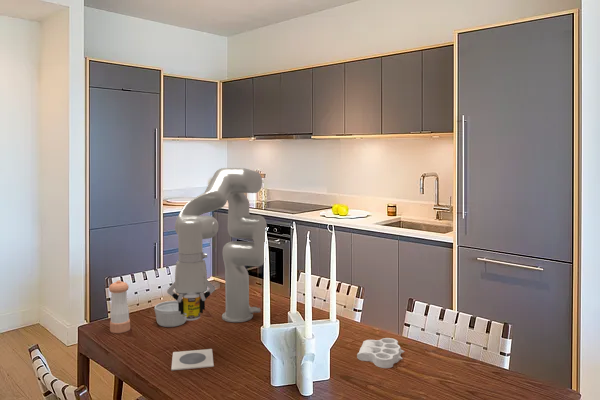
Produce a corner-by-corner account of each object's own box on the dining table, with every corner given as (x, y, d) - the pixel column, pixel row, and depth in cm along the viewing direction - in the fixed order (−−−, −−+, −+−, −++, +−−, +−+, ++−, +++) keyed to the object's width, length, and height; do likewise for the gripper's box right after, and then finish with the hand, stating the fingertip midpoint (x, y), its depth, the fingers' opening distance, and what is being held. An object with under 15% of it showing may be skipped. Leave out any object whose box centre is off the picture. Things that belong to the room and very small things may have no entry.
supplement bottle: (186, 322, 152) (186, 290, 150) (180, 317, 156) (179, 286, 155) (203, 319, 155) (202, 288, 154) (196, 314, 159) (196, 284, 158)
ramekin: (196, 320, 193) (195, 304, 192) (171, 331, 182) (170, 313, 181) (173, 314, 200) (172, 298, 199) (147, 324, 189) (147, 307, 188)
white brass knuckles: (364, 344, 171) (406, 349, 167) (355, 365, 154) (401, 371, 150) (365, 334, 171) (406, 340, 166) (355, 355, 154) (401, 361, 149)
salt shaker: (134, 327, 185) (132, 279, 183) (121, 334, 178) (119, 284, 176) (118, 325, 188) (117, 277, 186) (105, 331, 181) (103, 282, 179)
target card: (212, 350, 165) (212, 348, 164) (213, 366, 152) (213, 365, 152) (172, 353, 162) (172, 351, 162) (171, 370, 149) (171, 368, 149)
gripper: (217, 254, 159) (218, 307, 161) (163, 256, 155) (164, 310, 157) (218, 259, 152) (219, 314, 153) (162, 261, 148) (163, 318, 150)
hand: (191, 311), depth 155 cm, fingers closed on supplement bottle, 5 cm apart
